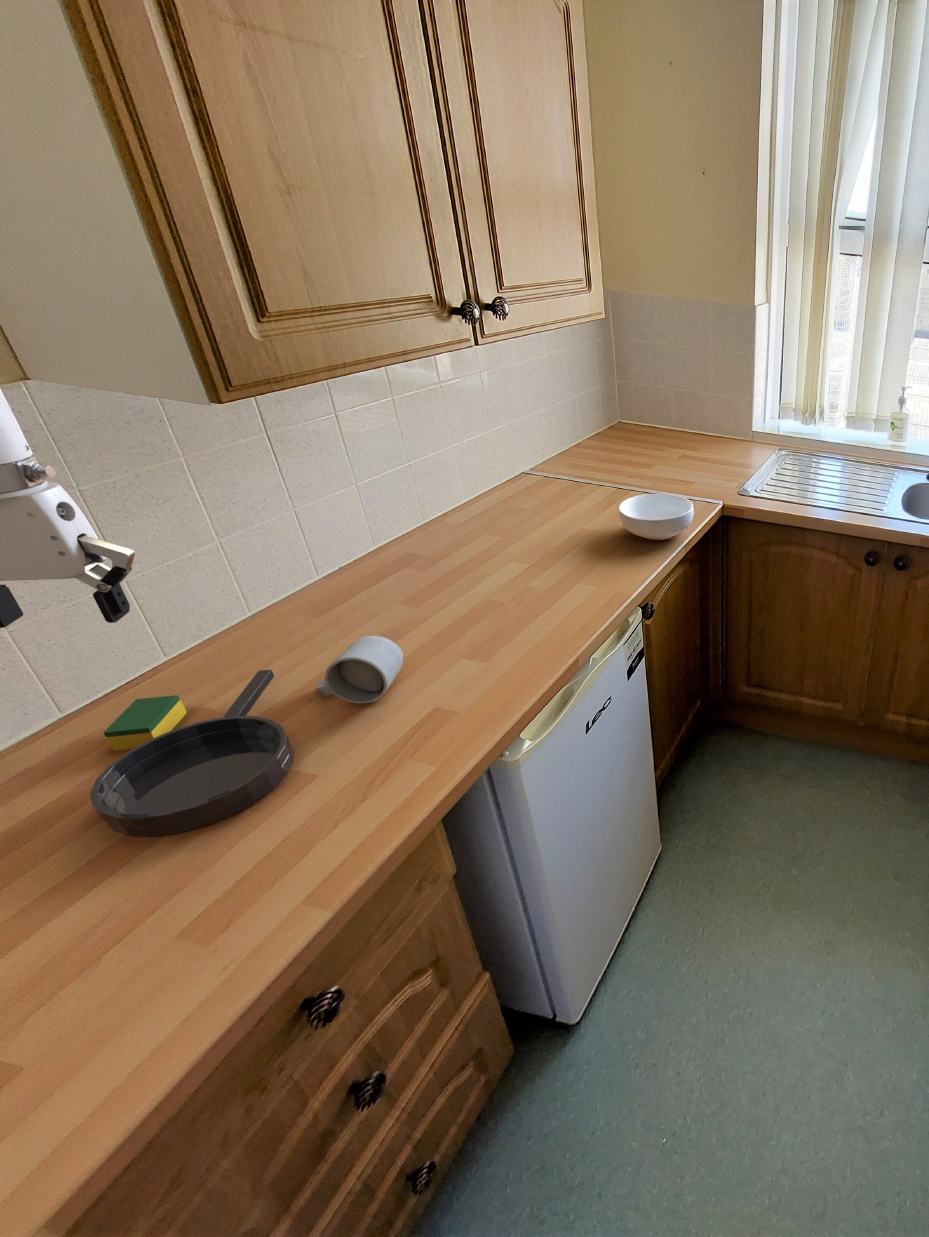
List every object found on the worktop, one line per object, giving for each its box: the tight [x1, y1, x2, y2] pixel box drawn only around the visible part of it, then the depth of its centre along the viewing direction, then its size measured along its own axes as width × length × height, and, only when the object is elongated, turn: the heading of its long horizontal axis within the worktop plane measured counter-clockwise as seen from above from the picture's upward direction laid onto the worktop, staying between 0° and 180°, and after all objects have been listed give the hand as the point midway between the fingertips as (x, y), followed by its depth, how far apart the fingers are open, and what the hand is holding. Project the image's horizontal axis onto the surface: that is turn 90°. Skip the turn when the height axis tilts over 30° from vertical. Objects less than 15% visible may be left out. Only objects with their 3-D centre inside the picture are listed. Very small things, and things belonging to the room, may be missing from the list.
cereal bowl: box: [618, 493, 694, 541], centre depth 150 cm, size 17×17×7 cm
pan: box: [89, 715, 295, 838], centre depth 77 cm, size 17×17×4 cm
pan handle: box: [222, 669, 275, 717], centre depth 88 cm, size 2×11×1 cm, turn 17°
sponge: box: [103, 694, 188, 752], centre depth 84 cm, size 4×7×3 cm, turn 17°
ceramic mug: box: [316, 634, 404, 705], centre depth 93 cm, size 11×8×8 cm
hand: (65, 619), depth 75 cm, fingers open, 9 cm apart
